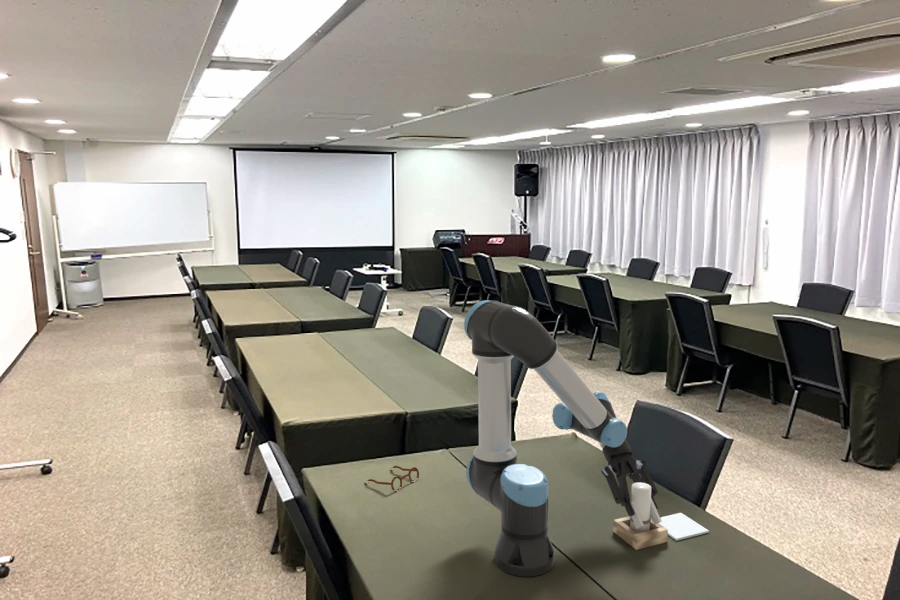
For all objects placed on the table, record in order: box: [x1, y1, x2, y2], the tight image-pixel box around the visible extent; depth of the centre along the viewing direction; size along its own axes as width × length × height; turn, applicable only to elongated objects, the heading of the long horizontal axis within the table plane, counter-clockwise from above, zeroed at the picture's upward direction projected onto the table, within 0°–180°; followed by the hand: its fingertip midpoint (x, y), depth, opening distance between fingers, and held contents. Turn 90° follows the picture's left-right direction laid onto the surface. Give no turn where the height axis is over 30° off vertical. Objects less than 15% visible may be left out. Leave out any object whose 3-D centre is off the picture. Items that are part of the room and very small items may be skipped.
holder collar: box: [612, 515, 669, 551], centre depth 174 cm, size 10×10×4 cm
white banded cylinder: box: [630, 482, 651, 533], centre depth 173 cm, size 5×5×14 cm
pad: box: [659, 512, 710, 542], centre depth 179 cm, size 11×11×1 cm
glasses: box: [367, 465, 420, 491], centre depth 210 cm, size 13×13×5 cm
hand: (649, 525), depth 170 cm, fingers closed on white banded cylinder, 5 cm apart
